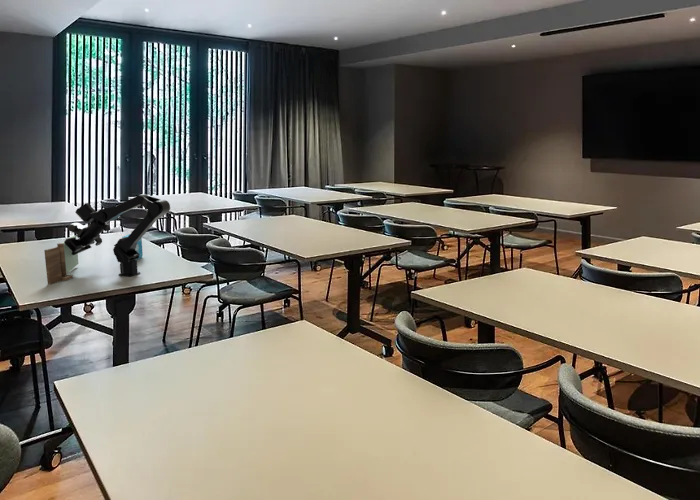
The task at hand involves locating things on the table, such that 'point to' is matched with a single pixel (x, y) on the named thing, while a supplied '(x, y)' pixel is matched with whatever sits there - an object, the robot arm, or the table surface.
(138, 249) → the data package
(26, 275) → the table surface
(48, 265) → the brown piece
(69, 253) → the sage green panel
